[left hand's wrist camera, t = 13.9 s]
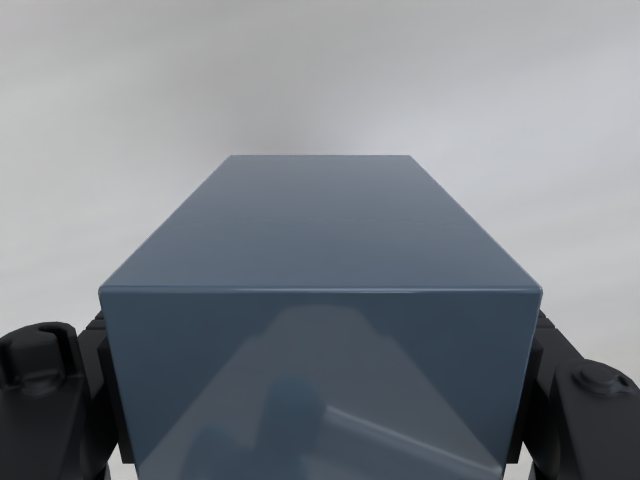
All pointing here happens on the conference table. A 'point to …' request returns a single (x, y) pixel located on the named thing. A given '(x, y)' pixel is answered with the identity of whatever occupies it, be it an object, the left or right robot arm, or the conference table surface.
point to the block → (320, 328)
